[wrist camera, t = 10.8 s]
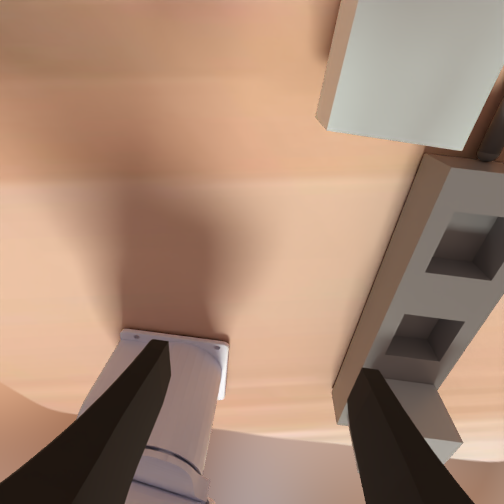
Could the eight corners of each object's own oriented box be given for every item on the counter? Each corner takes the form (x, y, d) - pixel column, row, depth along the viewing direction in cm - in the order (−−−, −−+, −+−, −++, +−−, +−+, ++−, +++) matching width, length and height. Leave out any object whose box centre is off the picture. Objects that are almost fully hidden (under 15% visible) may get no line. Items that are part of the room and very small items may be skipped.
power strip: (331, 392, 28) (346, 479, 22) (513, -77, 12) (757, -236, 6) (395, 400, 28) (427, 490, 22) (666, -61, 12) (1075, -207, 6)
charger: (311, 112, 16) (326, 130, 11) (339, -20, 13) (378, -81, 8) (402, 126, 16) (461, 151, 11) (450, -3, 13) (560, -53, 8)
